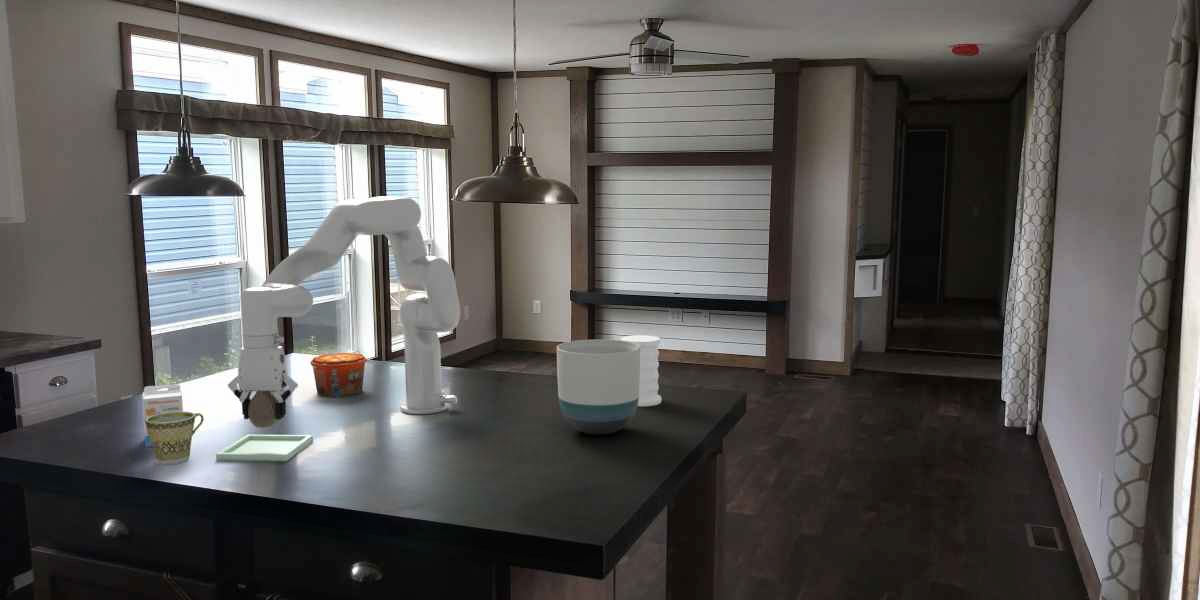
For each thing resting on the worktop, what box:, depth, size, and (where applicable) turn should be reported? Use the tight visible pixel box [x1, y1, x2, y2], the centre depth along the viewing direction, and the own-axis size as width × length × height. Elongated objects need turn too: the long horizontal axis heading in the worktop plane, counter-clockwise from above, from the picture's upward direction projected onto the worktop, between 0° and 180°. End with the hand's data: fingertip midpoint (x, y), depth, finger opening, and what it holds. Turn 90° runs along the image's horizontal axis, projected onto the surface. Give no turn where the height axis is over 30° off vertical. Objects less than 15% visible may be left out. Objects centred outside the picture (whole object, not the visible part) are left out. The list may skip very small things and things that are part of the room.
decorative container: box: [620, 334, 662, 407], centre depth 255 cm, size 12×12×18 cm
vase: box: [248, 391, 279, 429], centre depth 209 cm, size 7×7×9 cm
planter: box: [556, 339, 640, 436], centre depth 223 cm, size 20×20×21 cm
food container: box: [310, 352, 368, 398], centre depth 268 cm, size 16×16×11 cm
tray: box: [215, 433, 314, 462], centre depth 210 cm, size 16×16×2 cm
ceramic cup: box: [145, 411, 205, 466], centre depth 204 cm, size 13×10×10 cm
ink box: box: [142, 383, 184, 448], centre depth 218 cm, size 9×8×13 cm
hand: (264, 417), depth 209 cm, fingers closed on vase, 6 cm apart
